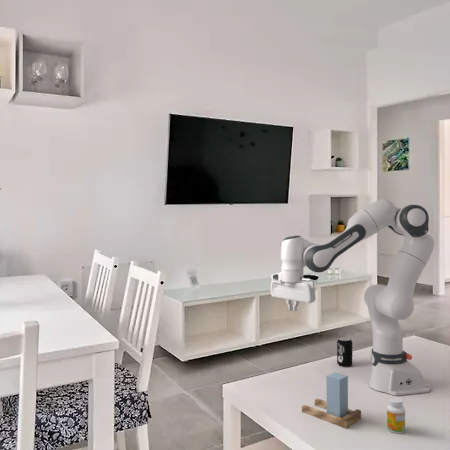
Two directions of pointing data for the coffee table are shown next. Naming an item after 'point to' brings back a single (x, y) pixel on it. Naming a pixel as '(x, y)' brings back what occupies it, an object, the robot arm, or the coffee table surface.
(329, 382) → the block
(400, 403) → the supplement bottle
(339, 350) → the beverage can
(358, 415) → the brown flat open frame
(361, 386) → the coffee table surface
